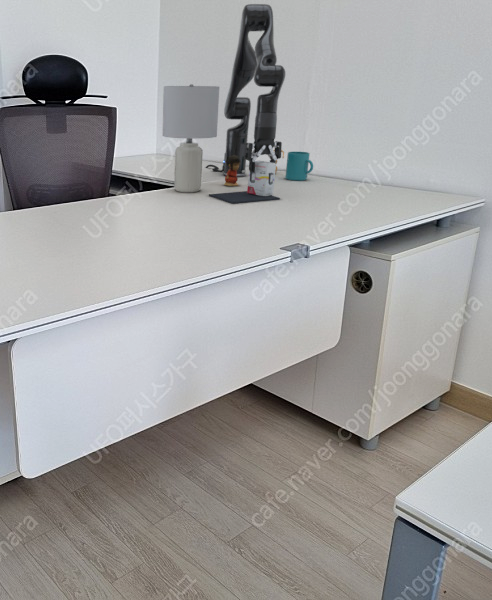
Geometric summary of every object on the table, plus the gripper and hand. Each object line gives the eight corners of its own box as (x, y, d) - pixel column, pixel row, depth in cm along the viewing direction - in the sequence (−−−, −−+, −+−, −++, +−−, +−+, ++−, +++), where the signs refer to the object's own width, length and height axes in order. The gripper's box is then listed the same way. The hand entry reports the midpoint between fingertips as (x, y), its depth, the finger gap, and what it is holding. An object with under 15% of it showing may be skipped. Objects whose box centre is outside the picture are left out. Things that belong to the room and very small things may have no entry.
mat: (209, 195, 220) (209, 194, 220) (254, 192, 227) (254, 190, 227) (232, 203, 206) (232, 202, 206) (279, 199, 214) (280, 197, 213)
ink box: (246, 193, 221) (248, 161, 217) (255, 192, 224) (257, 160, 220) (264, 197, 215) (267, 164, 210) (273, 195, 218) (276, 162, 213)
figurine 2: (262, 172, 273) (264, 146, 269) (270, 171, 277) (272, 145, 272) (277, 175, 267) (279, 147, 263) (285, 173, 271) (288, 146, 266)
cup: (305, 182, 248) (308, 155, 244) (281, 179, 256) (283, 152, 252) (317, 180, 254) (320, 153, 250) (292, 176, 262) (295, 150, 258)
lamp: (191, 184, 243) (195, 83, 229) (224, 192, 227) (231, 84, 213) (151, 189, 233) (152, 83, 219) (183, 197, 217) (187, 84, 203)
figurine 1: (221, 186, 240) (223, 155, 236) (225, 183, 245) (226, 154, 240) (237, 187, 238) (239, 156, 233) (240, 184, 242) (242, 154, 238)
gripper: (275, 124, 216) (271, 169, 222) (242, 125, 211) (239, 171, 217) (288, 125, 210) (284, 171, 216) (254, 126, 205) (251, 174, 210)
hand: (261, 171), depth 216 cm, fingers open, 8 cm apart
